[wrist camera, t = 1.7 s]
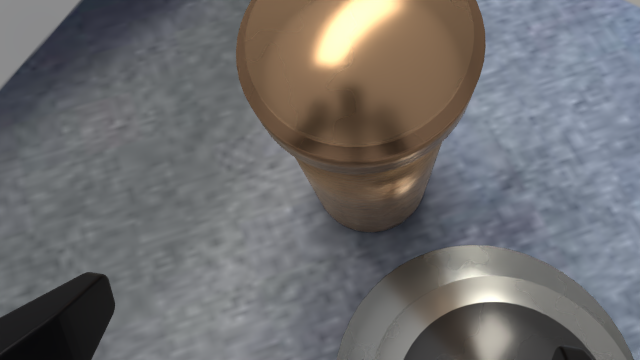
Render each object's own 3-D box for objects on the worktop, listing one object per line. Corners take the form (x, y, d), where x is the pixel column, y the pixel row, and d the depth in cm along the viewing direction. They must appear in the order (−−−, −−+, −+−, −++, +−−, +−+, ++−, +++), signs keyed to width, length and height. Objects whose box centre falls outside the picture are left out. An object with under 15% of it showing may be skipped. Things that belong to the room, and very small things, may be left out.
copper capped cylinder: (386, 263, 22) (389, 208, 10) (285, 192, 23) (183, 69, 11) (456, 162, 23) (539, -3, 11) (355, 99, 24) (328, -108, 12)
